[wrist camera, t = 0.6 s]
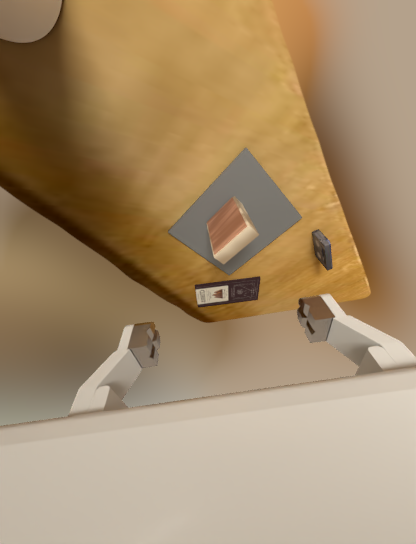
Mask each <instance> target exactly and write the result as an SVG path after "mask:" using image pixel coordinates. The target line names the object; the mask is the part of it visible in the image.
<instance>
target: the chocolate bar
mask: <svg viewBox="0 0 416 544" xmlns="http://www.w3.org/2000/svg"><path fill="white" fill-rule="evenodd" d="M259 284H260V277H253V278H245V279H237V280H230V281H222V282H214V283H207V284H199V285H195V289H196V296H197V302H198V307H205V306H213V305H220V304H228V303H235V302H243V301H251V300H258V292H259Z"/></svg>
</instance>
